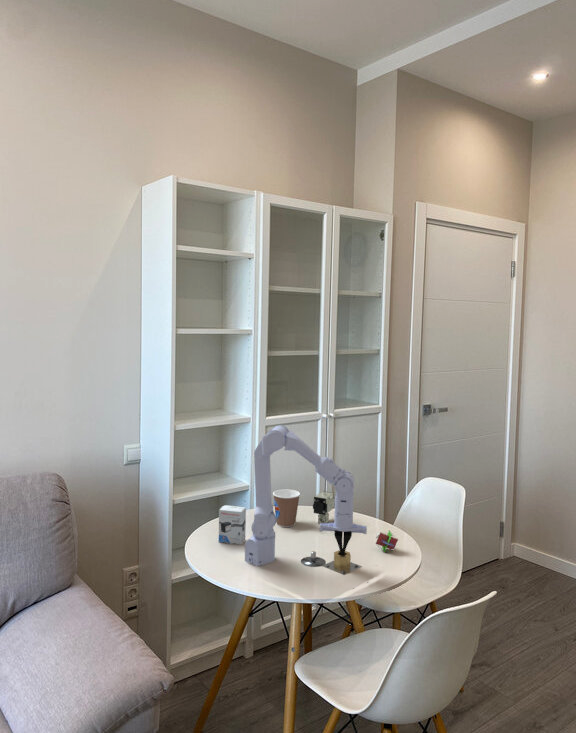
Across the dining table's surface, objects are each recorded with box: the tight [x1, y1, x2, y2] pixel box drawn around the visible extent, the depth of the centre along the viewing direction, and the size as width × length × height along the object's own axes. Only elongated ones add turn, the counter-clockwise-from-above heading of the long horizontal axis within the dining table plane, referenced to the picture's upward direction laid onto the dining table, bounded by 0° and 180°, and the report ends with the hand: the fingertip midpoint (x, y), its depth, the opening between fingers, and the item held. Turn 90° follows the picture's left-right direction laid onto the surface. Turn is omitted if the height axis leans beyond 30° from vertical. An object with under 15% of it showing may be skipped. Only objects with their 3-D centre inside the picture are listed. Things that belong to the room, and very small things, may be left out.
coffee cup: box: [272, 488, 301, 528], centre depth 228 cm, size 10×10×12 cm
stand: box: [300, 551, 327, 568], centre depth 192 cm, size 8×8×4 cm
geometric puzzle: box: [375, 530, 399, 553], centre depth 205 cm, size 7×7×8 cm
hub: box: [322, 560, 362, 576], centre depth 189 cm, size 9×9×4 cm
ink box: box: [218, 505, 247, 545], centre depth 210 cm, size 8×5×12 cm, turn 76°
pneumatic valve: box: [312, 490, 335, 524], centre depth 230 cm, size 6×12×12 cm, turn 154°
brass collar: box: [333, 550, 352, 569], centre depth 189 cm, size 5×5×4 cm
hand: (342, 554), depth 189 cm, fingers closed
